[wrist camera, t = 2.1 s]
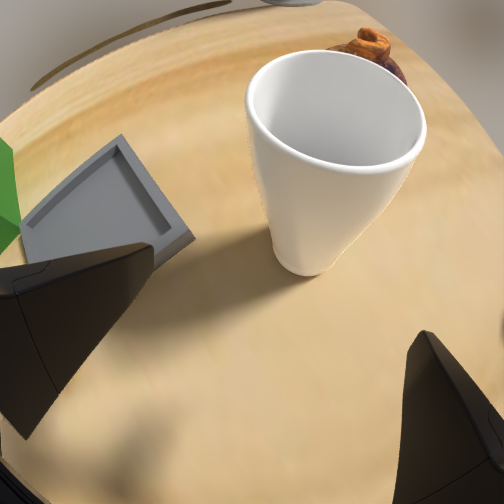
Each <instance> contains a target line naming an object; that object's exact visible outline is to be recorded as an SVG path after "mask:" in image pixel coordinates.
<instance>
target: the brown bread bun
mask: <svg viewBox="0 0 504 504" xmlns="http://www.w3.org/2000/svg"><path fill="white" fill-rule="evenodd" d="M390 48H391V46H390V42H389V40H388V38H386V37H385V36H383V35H381V34H380V33H378V32H376V31H374V30H372V29H369V28H361V29H360V30H359V31H358V39H354V40H352V41H351V42H349V43H348V44H343V45H337V46H334V47H331V48H328V49H326V50H329V51H338V52H343V53H348V54H352V55H355V56H358V57H361V58H364V59H367V60H369V61H371V62H373V63H376V64H378V65H379V66H381V67H383V68H385V69H386V70H388V71H389V72H391V73H392V74H394V75H395V76H396V77H397V78H399V79H400V80H401V81H402V82H403V83H404V84H405V85H406V86H407V82H406V79H405V77H404V75H403V73H402V71H401V69H400V68H399V66H398V65H397V64H396V63H395V62H394V61H393V60H392V59H391V58H390V57H389V53H390ZM407 87H408V86H407Z"/></svg>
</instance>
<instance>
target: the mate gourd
mask: <svg viewBox="0 0 504 504" xmlns="http://www.w3.org/2000/svg"><path fill="white" fill-rule="evenodd" d="M261 1H263V2H266V3H269V4H274V5H280V6H296V7H299V6H311V5H316V4H319V3H321V2H322V1H323V0H261Z"/></svg>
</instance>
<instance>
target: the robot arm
mask: <svg viewBox="0 0 504 504" xmlns="http://www.w3.org/2000/svg"><path fill="white" fill-rule="evenodd" d="M153 270H154V247H153V246H152V245H151V244H148V243H145V242H139V243H133V244H128V245H122V246H117V247H112V248H106V249H101V250H96V251H91V252H86V253H81V254H76V255H71V256H66V257H61V258H56V259H53V260H46V261H41V262H36V263H31V264H25V265H19V266H13V267H6V268H0V423H1V421H2V420H3V419H5V420H6V421H7V422H8V423H9V424H10V425H11V426H12V427H13V428H14V429H15V430H16V431H17V432H18V433H19V434H20V435H21V436H22V437H23V438H24V439H25V440H27V439H28V438H29V437H30V435H31V434H32V432H33V431H34V429H35V428H36V426H37V425H38V424H39V422H40V421H41V419H42V418H43V416H44V415H45V414H46V412H47V411H48V409H49V408H50V407H51V405H52V404H53V403H54V401H55V400H56V398H57V397H58V396H59V394H60V393H61V391H62V390H63V389H64V387H65V386H66V385H67V383H68V382H69V381H70V380H71V378H72V377H73V376H74V374H75V373H76V372H77V370H78V369H79V368H80V366H81V365H82V364H83V363H84V361H85V360H86V359H87V358H88V356H89V355H90V354H91V352H92V351H93V350H94V349H95V347H96V346H97V345H98V344H99V342H100V341H101V340H102V339H103V337H104V336H105V335H106V334H107V333H108V331H109V330H110V329H111V328H112V326H113V325H114V324H115V323H116V322H117V320H118V319H119V318H120V317H121V316H122V314H123V313H124V312H125V311H126V310H127V308H128V307H129V306H130V305H131V303H132V302H133V300H134V299H135V297H136V296H137V294H138V293H139V292H140V290H141V289H142V287H143V286H144V284H145V283H146V281H147V280H148V278H149V277H150V276H151V274H152V272H153ZM0 504H51V503H50V502H49V501H48V500H46V499H45V498H44V497H43V496H42V495H41V494H39V493H38V492H37V491H36V490H35V489H34V488H33V487H32V486H30V485H29V484H28V483H27V482H26V481H25V480H24V479H23V478H22V477H21V476H20V475H19V474H18V473H17V472H16V471H15V470H14V469H13V468H12V467H11V466H10V465H9V464H8V463H7V462H6V461H5V460H4V459H3V458H2V452H1V434H0ZM392 504H504V420H503V419H502V417H501V416H500V415H499V413H498V412H497V411H496V409H495V408H494V407H493V405H492V404H491V403H490V401H489V400H488V399H487V397H486V396H485V395H484V394H483V392H482V391H481V390H480V388H479V387H478V386H477V385H476V383H475V382H474V381H473V380H472V378H471V377H470V376H469V375H468V373H467V372H466V371H465V370H464V368H463V367H462V366H461V365H460V364H459V362H458V361H457V360H456V359H455V358H454V356H453V355H452V354H451V353H450V352H449V351H448V349H447V348H446V347H445V346H444V345H443V344H442V342H441V341H440V340H439V339H438V338H437V337H436V336H435V334H434V333H432V332H429V331H425V330H422V331H420V332H419V334H418V335H417V337H416V338H415V340H414V342H413V343H412V345H411V346H410V348H409V350H408V352H407V360H406V370H405V380H404V388H403V402H402V425H401V440H400V451H399V461H398V469H397V477H396V484H395V491H394V497H393V502H392Z"/></svg>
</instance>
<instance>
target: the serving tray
mask: <svg viewBox="0 0 504 504" xmlns="http://www.w3.org/2000/svg"><path fill="white" fill-rule="evenodd" d="M19 227H20V232H21V236H22V241H23V245H24V249H25V253H26V256H27V260H28V264H31V263H36V262H41V261H46V260H53V259H56V258H61V257H66V256H71V255H76V254H81V253H86V252H91V251H96V250H101V249H106V248H112V247H117V246H122V245H128V244H133V243H139V242H145V243H148V244H151V245H152V246H153V247H154V270H156V269H157V268H158V267H160V266H161V265H162V264H163V263H165V262H166V261H167V260H169V259H170V258H171V257H173V256H174V255H175V254H176V253H178V252H179V251H180V250H182V249H183V248H184V247H186V246H187V245H188V244H190V243H191V242H192V241H194V240H195V239H196V238H195V237H194V235H193V234H192V232H191V231H190V230H189V228H188V227H187V225H186V224H185V223H184V221H183V220H182V219H181V217H180V216H179V215H178V213H177V212H176V210H175V209H174V208H173V206H172V205H171V204H170V202H169V201H168V199H167V198H166V197H165V195H164V194H163V192H162V191H161V190H160V188H159V187H158V185H157V184H156V183H155V181H154V180H153V178H152V177H151V175H150V174H149V173H148V171H147V170H146V168H145V167H144V166H143V164H142V163H141V161H140V160H139V158H138V157H137V155H136V154H135V153H134V151H133V150H132V148H131V147H130V145H129V144H128V142H127V141H126V139H125V138H124V137H123V135H122V134H120V135H119V136H117V137H116V138H115V139H113V140H112V141H111V142H109V143H108V144H107V145H105V146H104V147H103V148H102V149H100V150H99V151H98V152H96V153H95V154H94V155H93V156H91V157H90V158H89V159H88V160H86V161H85V162H84V163H83V164H82V165H80V166H79V167H78V168H77V169H76V170H75V171H73V172H72V173H71V174H70V175H69V176H68V177H66V178H65V179H64V180H63V181H62V182H61V183H60V184H59V185H58V186H56V187H55V188H54V189H53V190H52V191H51V192H50V193H49V194H48V195H47V196H46V197H45V198H44V199H43V200H42V201H41V202H40V203H39V204H38V205H37V206H36V207H35V208H34V209H33V210H32V211H31V212H30V213H29V214H28V215H27V216H26V217H25V218H24V219H23V220H22V221H21V222H20V223H19ZM154 270H153V271H154Z"/></svg>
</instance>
